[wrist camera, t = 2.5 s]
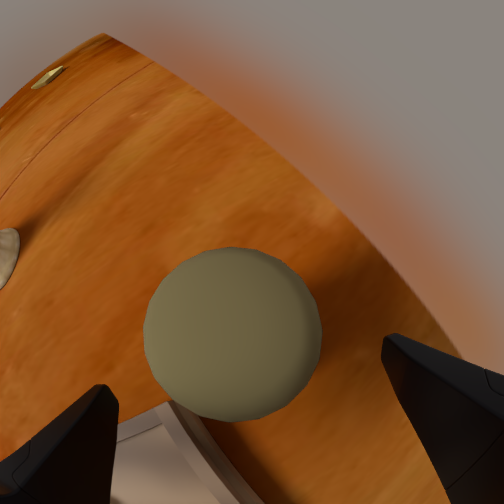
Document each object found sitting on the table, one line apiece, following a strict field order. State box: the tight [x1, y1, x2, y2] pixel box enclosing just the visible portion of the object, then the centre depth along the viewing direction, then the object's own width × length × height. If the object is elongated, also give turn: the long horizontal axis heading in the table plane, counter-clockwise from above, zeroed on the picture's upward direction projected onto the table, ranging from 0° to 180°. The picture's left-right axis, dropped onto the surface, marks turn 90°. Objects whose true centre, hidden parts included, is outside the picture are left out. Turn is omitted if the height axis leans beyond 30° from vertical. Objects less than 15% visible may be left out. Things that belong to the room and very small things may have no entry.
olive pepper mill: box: [143, 247, 323, 422], centre depth 11 cm, size 6×6×11 cm
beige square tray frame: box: [31, 66, 63, 89], centre depth 48 cm, size 9×9×2 cm
